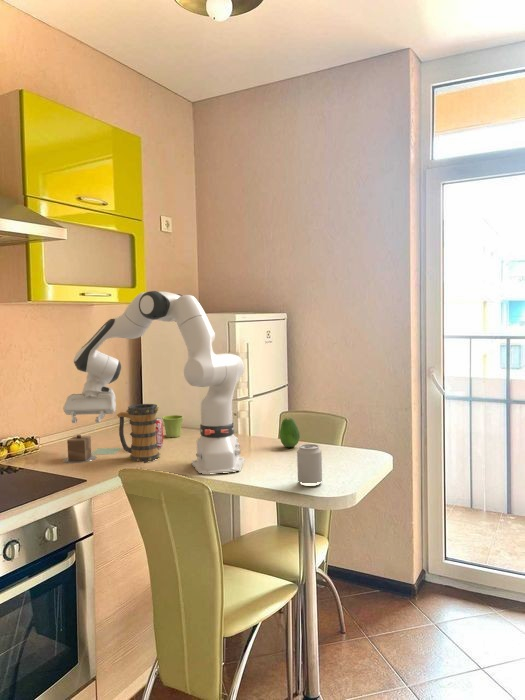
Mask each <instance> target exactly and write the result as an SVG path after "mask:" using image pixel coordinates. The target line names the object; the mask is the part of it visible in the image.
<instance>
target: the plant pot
mask: <svg viewBox="0 0 525 700" xmlns="http://www.w3.org/2000/svg"><path fill="white" fill-rule="evenodd" d="M183 419H184V415H178V414H173V415H172V414H171V415H165V416H162V421H163V423H164V430H165V436H166V438H170V437H172V438H178V437H181V434H182V423H183Z"/></svg>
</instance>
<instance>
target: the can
mask: <svg viewBox="0 0 525 700" xmlns="http://www.w3.org/2000/svg"><path fill="white" fill-rule="evenodd" d="M322 455H323V454H322V450H321V449H320V445H318V444H314V443H304V444H300V445H299V446H298V449H297V451H296V457H297V458H296V462H297V463H296V464H297V465H296V466H297V482H298V481H299V482H302V483H317V482H321V481H322V482H323V465H322V464H323V463H322V461H323V459H322V458H323V457H322ZM299 482H298V483H299Z"/></svg>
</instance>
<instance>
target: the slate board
mask: <svg viewBox="0 0 525 700" xmlns="http://www.w3.org/2000/svg"><path fill="white" fill-rule="evenodd" d="M96 459H97V455H91V457H90V458H89V459H87V460H86V461H68V457H66V458H64V459H63V463H65V464H82V463H88V462H92V461H94V460H96Z"/></svg>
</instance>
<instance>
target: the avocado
mask: <svg viewBox="0 0 525 700" xmlns="http://www.w3.org/2000/svg"><path fill="white" fill-rule="evenodd" d="M295 422H296V421H294V419H293V418H292V417H285V418H284V419H283V420H282V421H281V424H280V425H281V426H280V430H279V438H280V442H281V443H282V445H283V446H284V447H285V446H286V447H285V448H287V447H291V448H294V447H295V446H297V444H298V443H299V441H300V438H301V435H300V434H301V433H300V430H299V428H298V426H297V423H295ZM293 446H294V447H293Z"/></svg>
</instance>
